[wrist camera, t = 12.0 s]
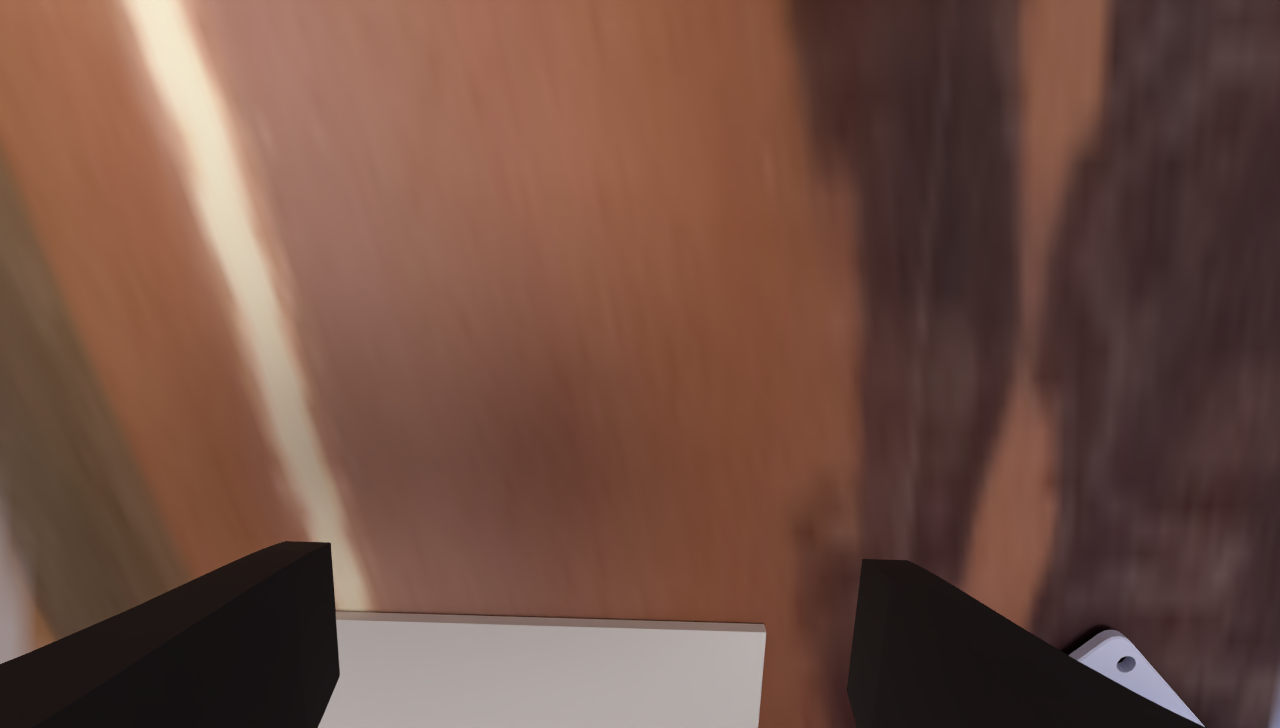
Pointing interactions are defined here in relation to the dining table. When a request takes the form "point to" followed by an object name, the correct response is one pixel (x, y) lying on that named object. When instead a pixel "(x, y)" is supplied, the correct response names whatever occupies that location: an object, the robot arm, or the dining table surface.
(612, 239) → the dining table surface
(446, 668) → the mat
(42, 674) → the robot arm
